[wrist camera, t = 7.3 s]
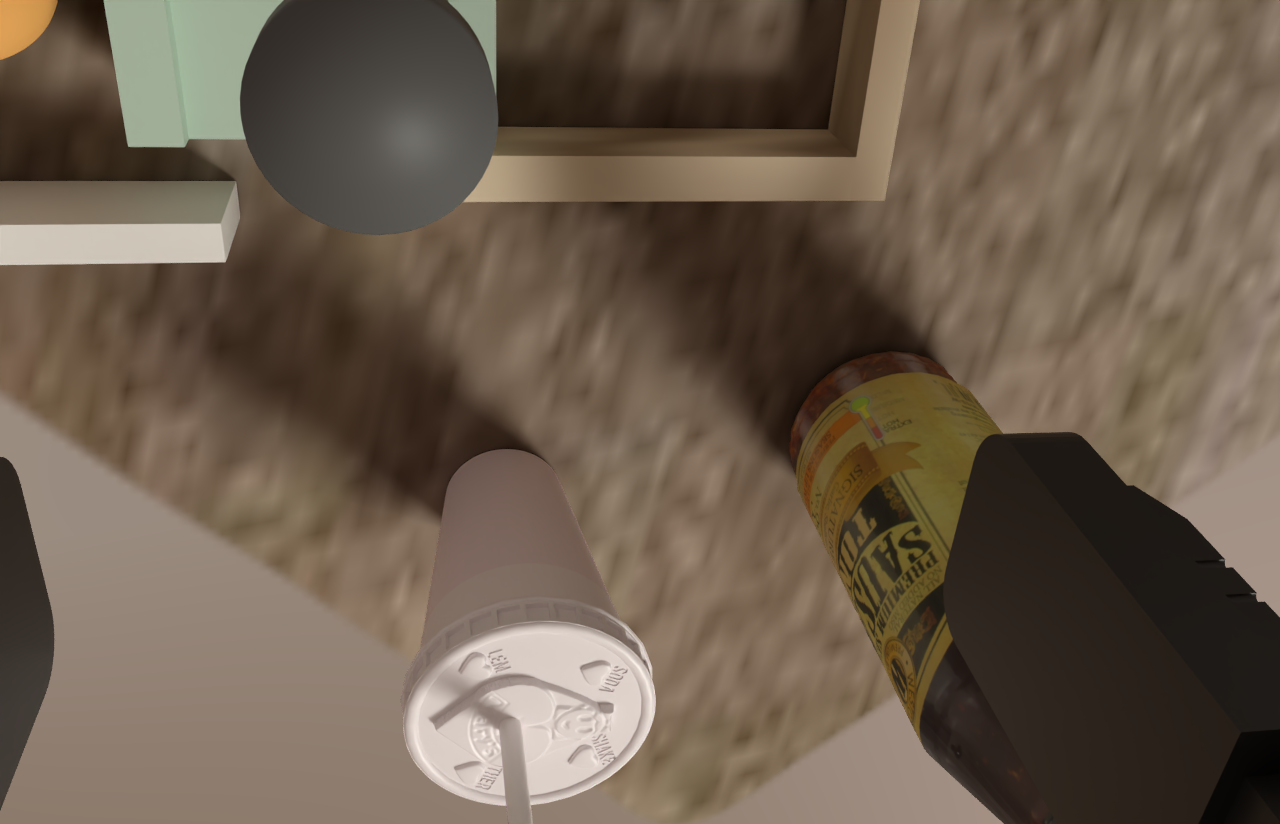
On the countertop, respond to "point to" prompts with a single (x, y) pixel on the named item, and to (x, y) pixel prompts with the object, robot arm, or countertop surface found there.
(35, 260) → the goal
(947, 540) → the sauce bottle
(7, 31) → the ball
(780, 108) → the countertop surface
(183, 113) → the striker
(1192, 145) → the countertop surface
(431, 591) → the smoothie
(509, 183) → the wooden rectangular frame
